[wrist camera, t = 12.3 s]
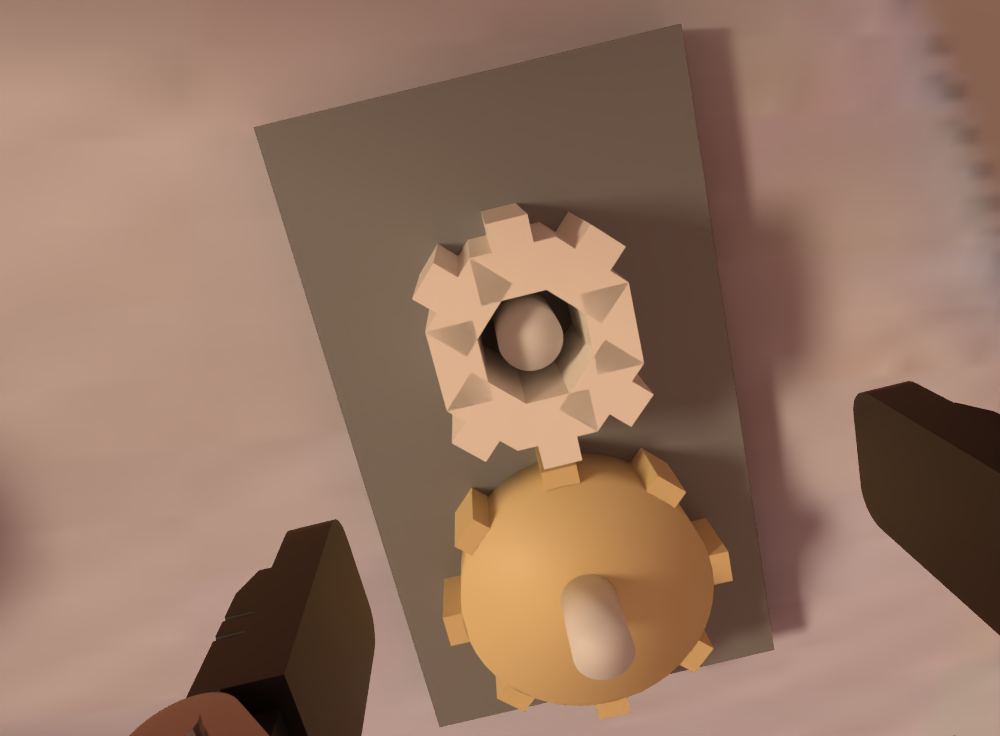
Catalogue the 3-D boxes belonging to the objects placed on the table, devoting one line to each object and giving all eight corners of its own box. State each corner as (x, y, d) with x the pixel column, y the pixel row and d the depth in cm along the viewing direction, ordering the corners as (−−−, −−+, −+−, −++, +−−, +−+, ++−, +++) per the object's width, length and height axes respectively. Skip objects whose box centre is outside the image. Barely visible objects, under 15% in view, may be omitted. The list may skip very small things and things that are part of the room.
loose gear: (407, 229, 25) (397, 246, 21) (588, 185, 25) (615, 192, 21) (463, 435, 27) (464, 488, 23) (630, 394, 27) (662, 440, 23)
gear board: (265, 128, 26) (196, 121, 19) (668, 30, 25) (744, -12, 19) (440, 701, 32) (436, 845, 26) (760, 627, 32) (839, 753, 25)
